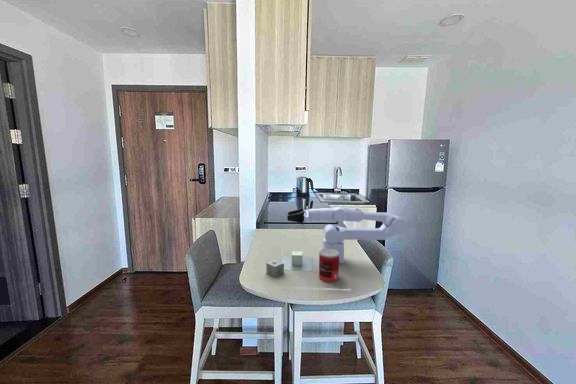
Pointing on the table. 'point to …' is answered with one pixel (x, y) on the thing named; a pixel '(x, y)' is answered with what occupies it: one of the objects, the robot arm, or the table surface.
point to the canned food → (328, 265)
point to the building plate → (306, 265)
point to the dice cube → (275, 267)
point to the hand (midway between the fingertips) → (287, 216)
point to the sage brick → (297, 257)
